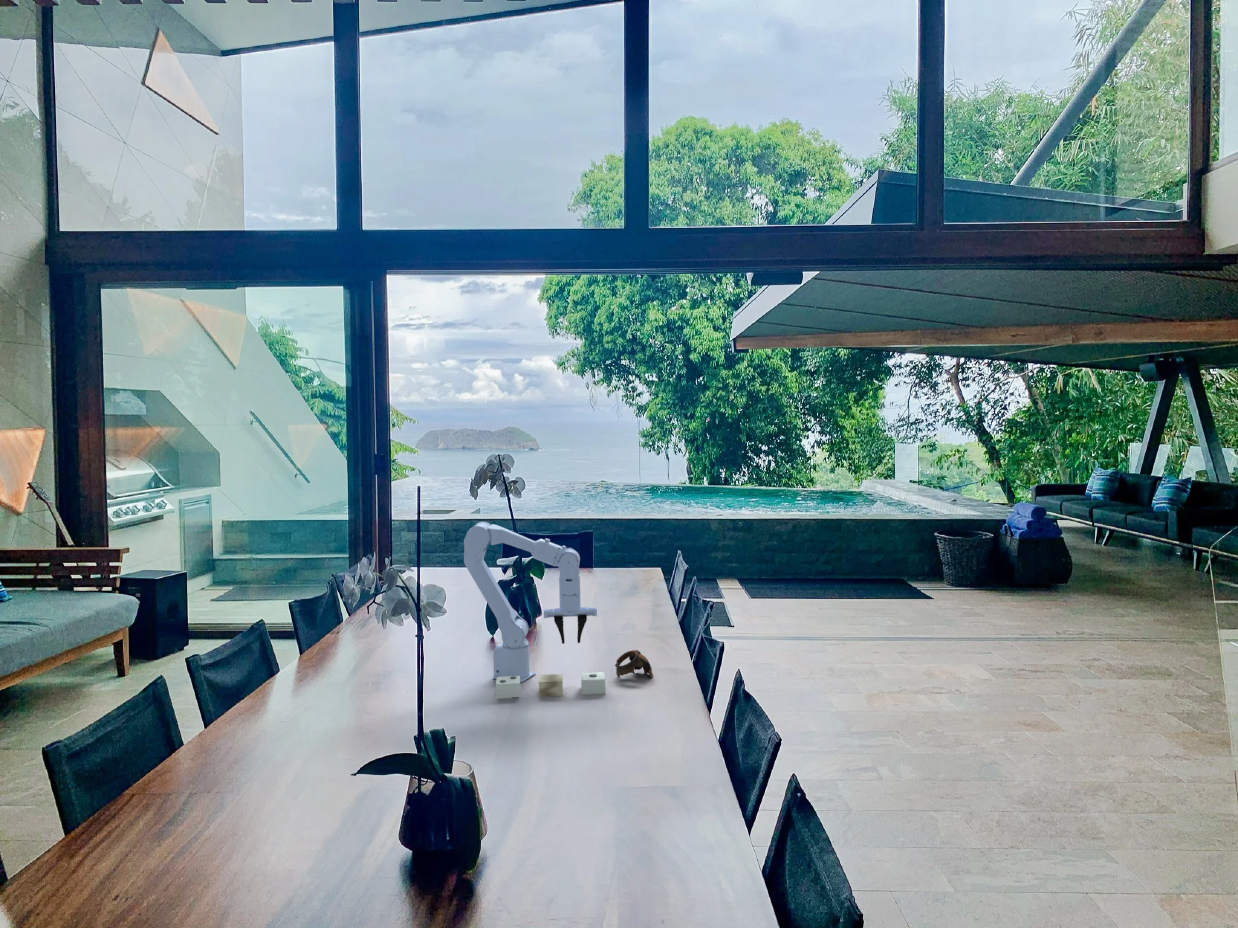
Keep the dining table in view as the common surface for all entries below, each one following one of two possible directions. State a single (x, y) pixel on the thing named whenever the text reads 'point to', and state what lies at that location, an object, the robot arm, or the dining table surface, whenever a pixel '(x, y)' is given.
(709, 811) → the dining table surface
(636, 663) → the rusty brown arched frame
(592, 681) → the one-dot block
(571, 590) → the robot arm
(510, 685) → the two-dot block
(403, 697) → the dining table surface
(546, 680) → the maple block
